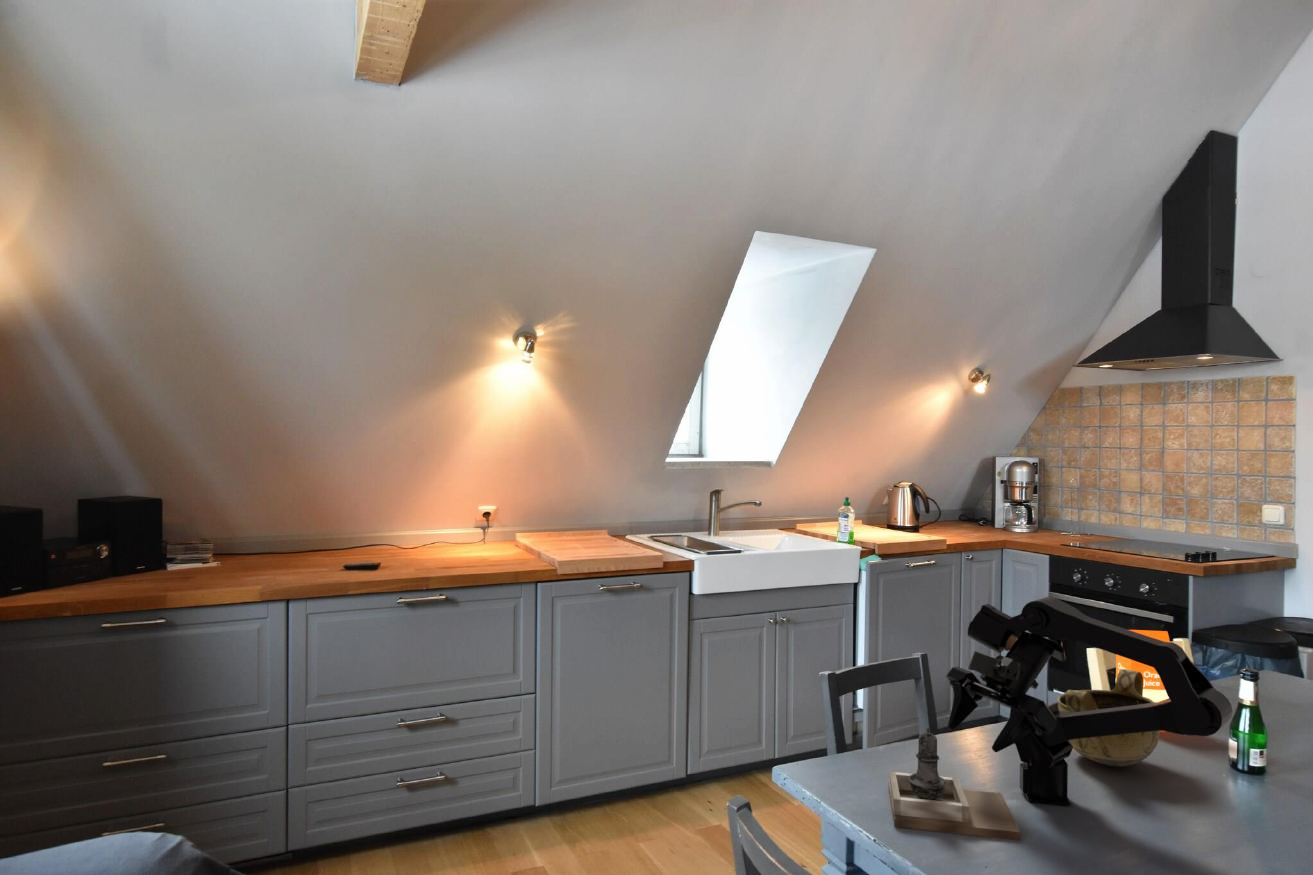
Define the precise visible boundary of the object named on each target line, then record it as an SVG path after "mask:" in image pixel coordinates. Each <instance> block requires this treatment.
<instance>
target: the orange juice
mask: <svg viewBox="0 0 1313 875" xmlns="http://www.w3.org/2000/svg"><path fill="white" fill-rule="evenodd" d="M1129 630H1130V631H1133V632H1136V633H1139V634H1142V635H1146V636H1149V637H1152V638H1155V639H1158V640H1161V641H1164V642H1171V641H1170V636H1169V633H1168V631H1167V630H1166V631H1165V630H1164V631H1162V630H1146V629H1145V630H1141V629H1129ZM1121 669H1128V670H1133V671H1138V672H1141V674H1142V676H1143V697H1146V698H1149V699H1151V700H1152V701H1154V702H1155V703H1156V702H1160V701H1163V700H1165V699H1168V698H1169V697H1168V695H1167V693H1166V690H1165V688H1164V686H1163V683H1162V681H1161V679H1160V676H1159V675H1158V673H1157V672H1156V670H1155V669H1154V668H1153V667H1151V666H1148V665H1145V664H1142V663H1139V662H1136V661H1133V660H1131V659H1128V658H1125V657H1122V656H1119V655H1116V654H1115V681H1116V680H1117V676H1118V673H1119V671H1120V670H1121ZM1162 732H1165V731H1162ZM1165 733H1166V732H1165Z"/></svg>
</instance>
